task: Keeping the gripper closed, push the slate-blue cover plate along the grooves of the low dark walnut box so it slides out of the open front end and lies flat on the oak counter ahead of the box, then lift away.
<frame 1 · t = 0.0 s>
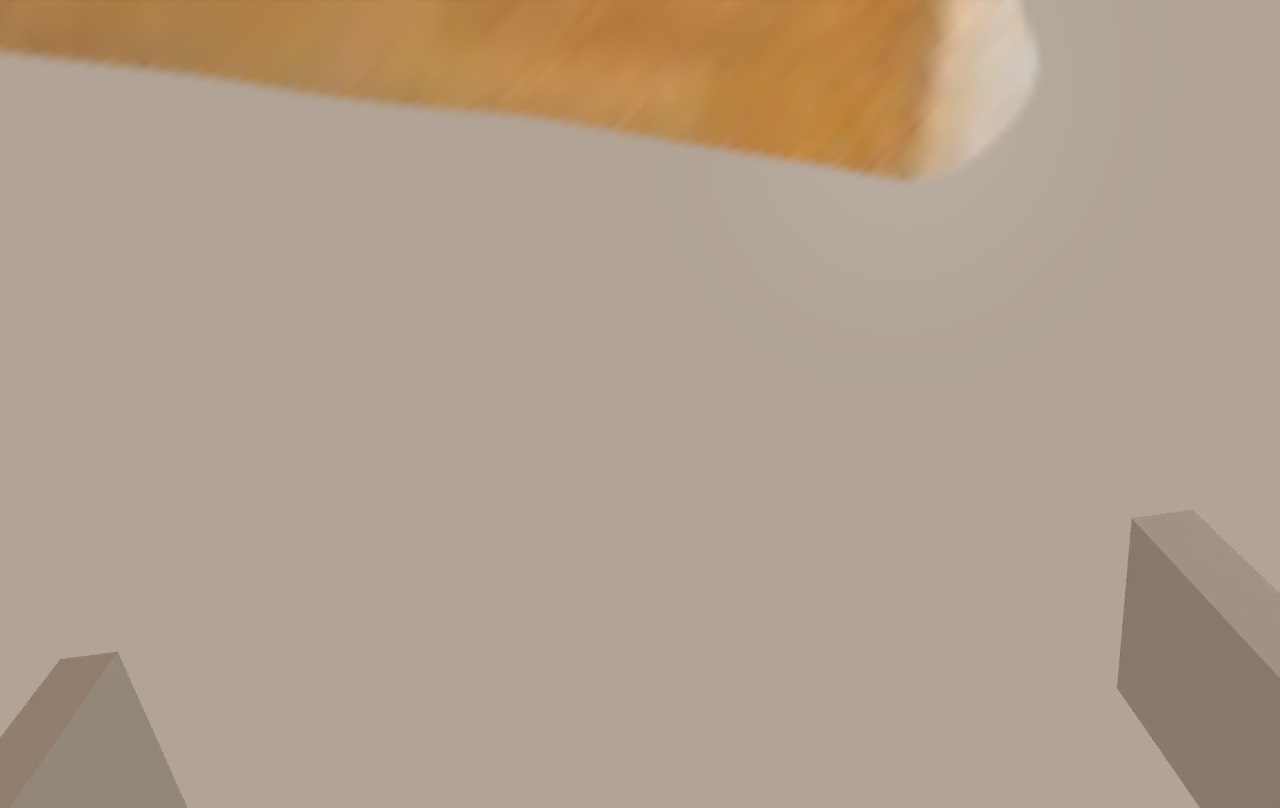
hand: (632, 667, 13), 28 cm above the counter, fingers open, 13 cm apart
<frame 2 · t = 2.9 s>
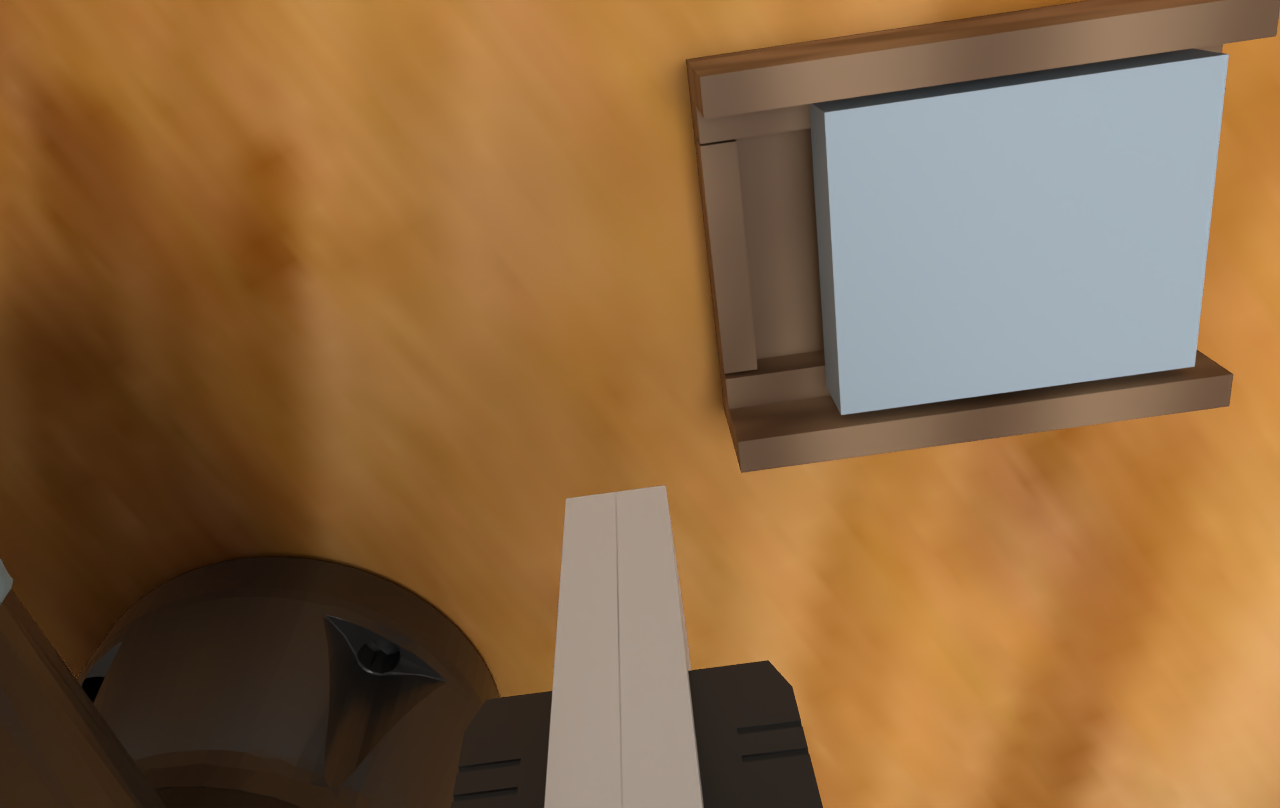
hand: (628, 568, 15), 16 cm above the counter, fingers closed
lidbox: (936, 216, 30), on the counter
cover plate: (993, 228, 28), point 2 cm above the counter, touching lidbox
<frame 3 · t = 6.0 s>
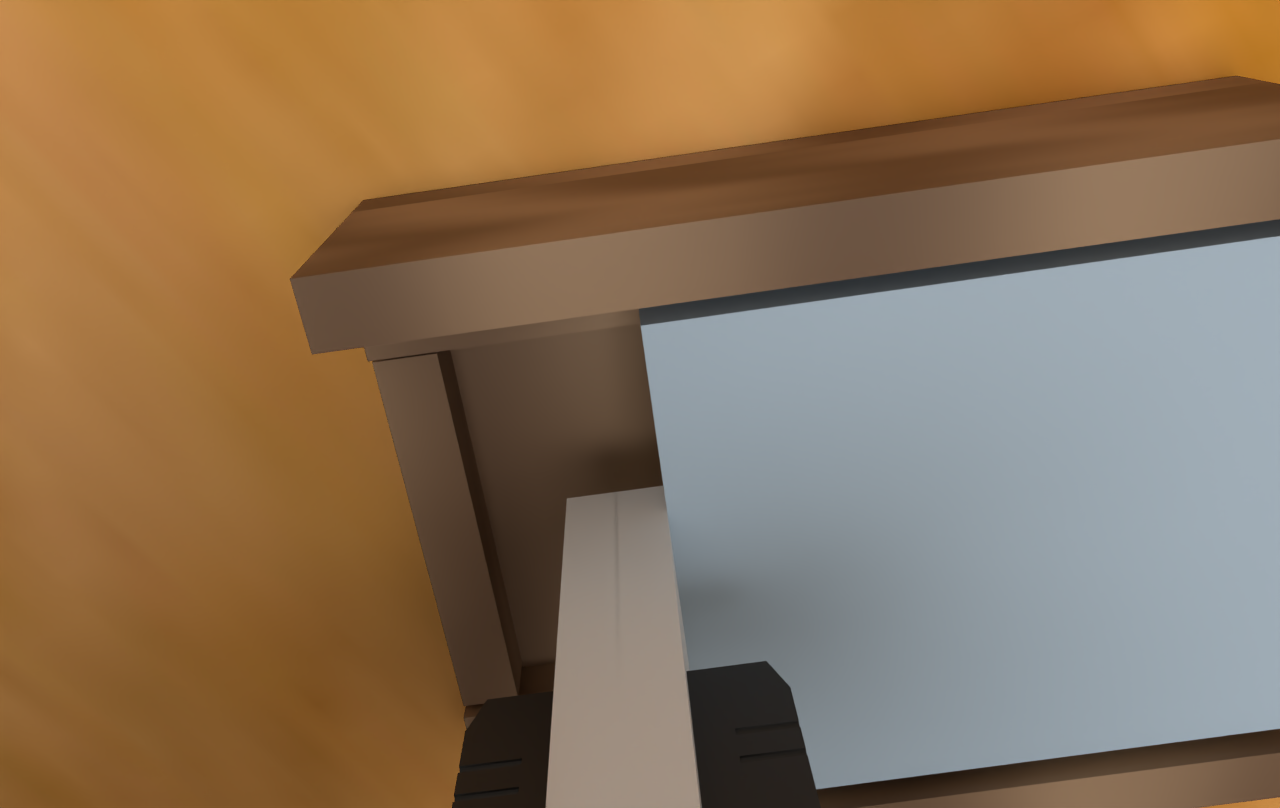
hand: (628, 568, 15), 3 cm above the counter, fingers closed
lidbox: (816, 443, 18), on the counter
cover plate: (972, 480, 16), point 2 cm above the counter, touching gripper, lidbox
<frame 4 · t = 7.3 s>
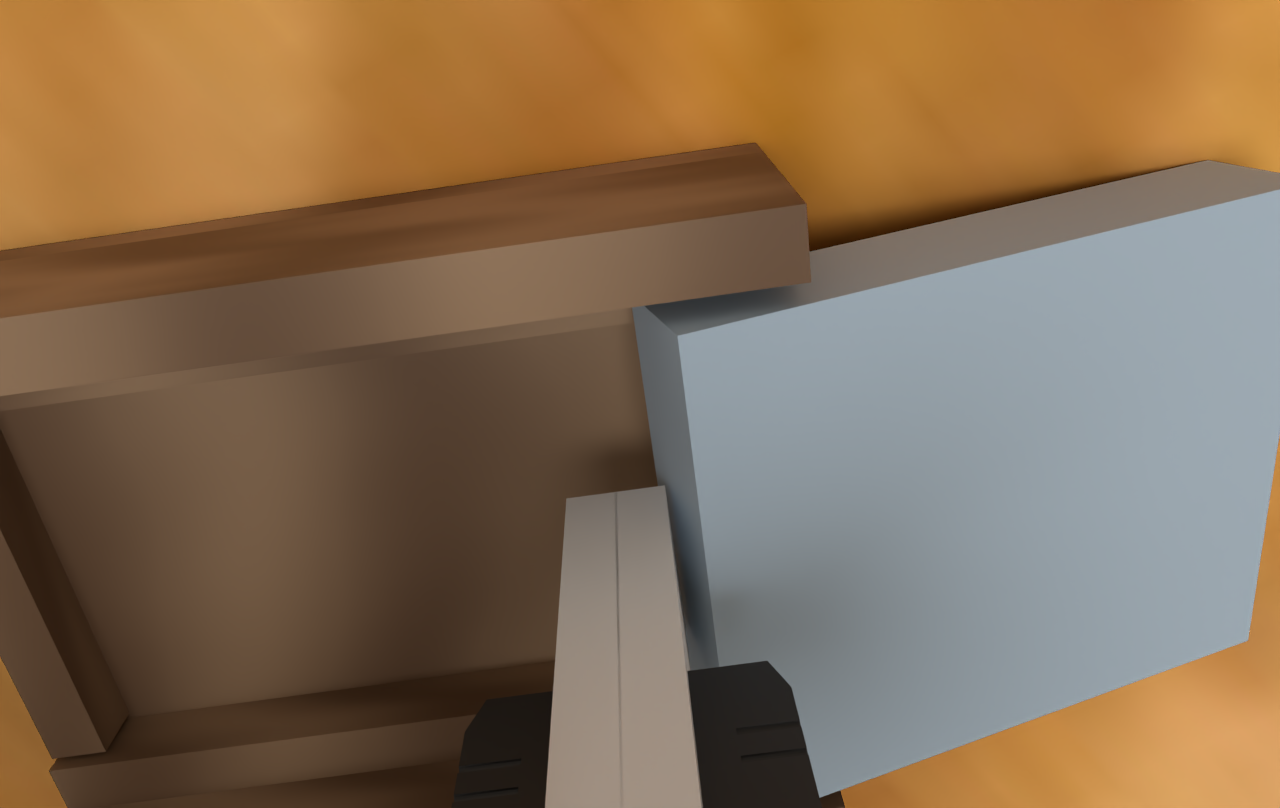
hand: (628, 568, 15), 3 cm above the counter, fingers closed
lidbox: (403, 498, 18), on the counter
cover plate: (941, 462, 17), point 1 cm above the counter, tilted 15°, touching gripper
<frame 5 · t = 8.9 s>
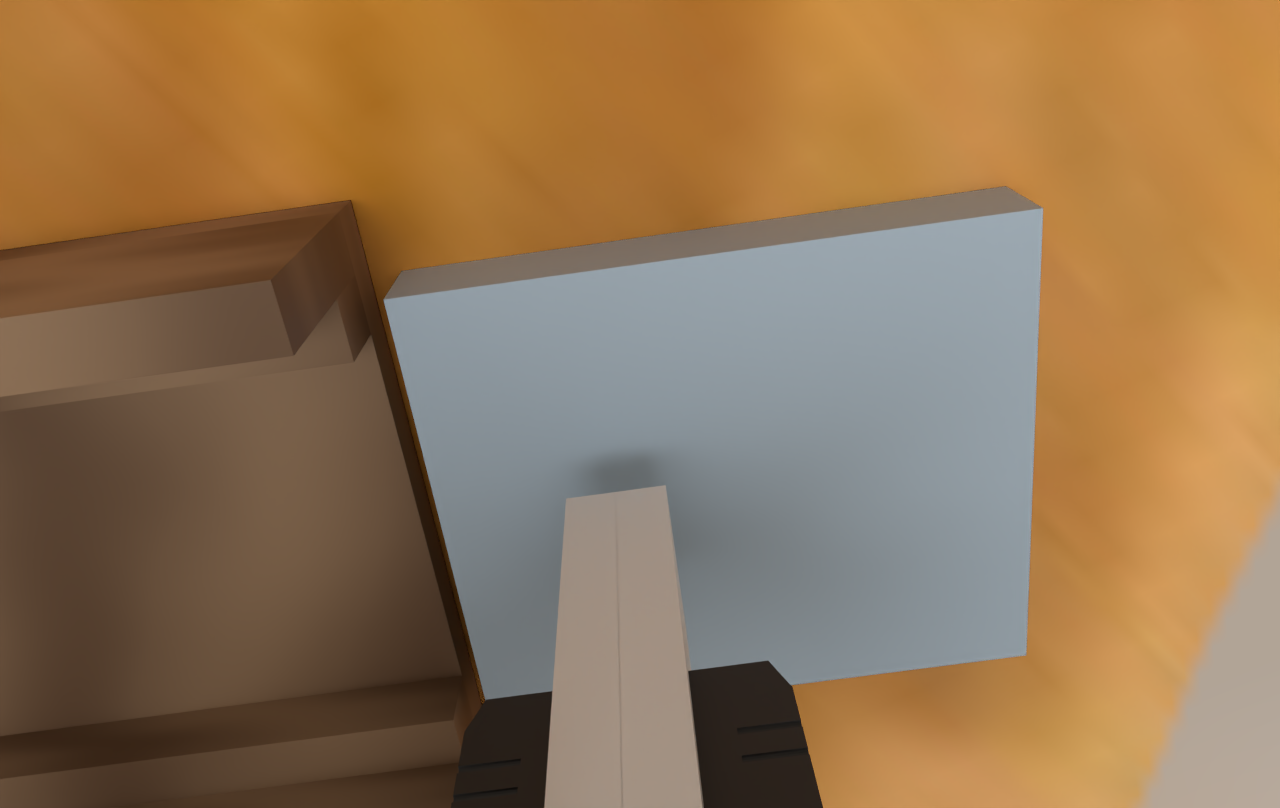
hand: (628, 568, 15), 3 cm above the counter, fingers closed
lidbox: (53, 547, 18), on the counter
cover plate: (723, 441, 18), on the counter
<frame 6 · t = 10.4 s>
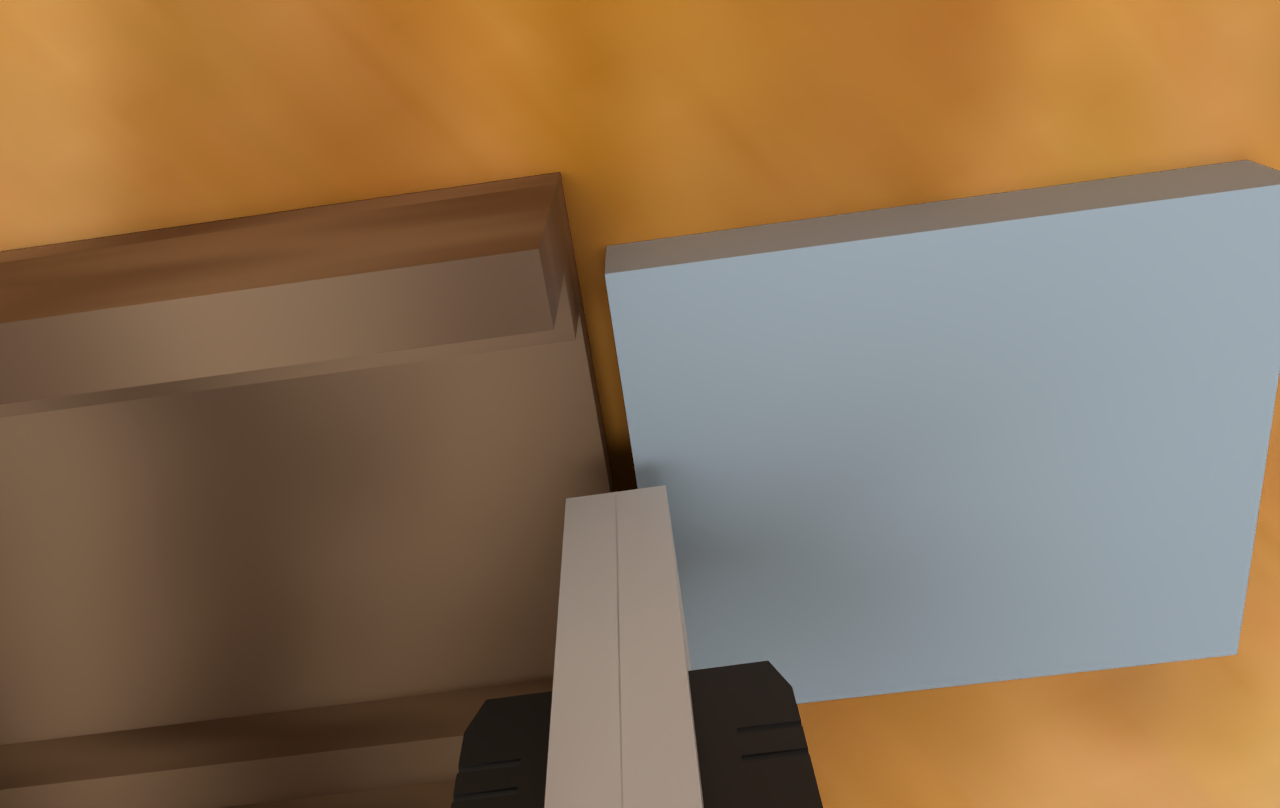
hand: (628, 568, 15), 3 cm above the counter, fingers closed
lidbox: (227, 532, 18), on the counter
cover plate: (917, 427, 18), on the counter
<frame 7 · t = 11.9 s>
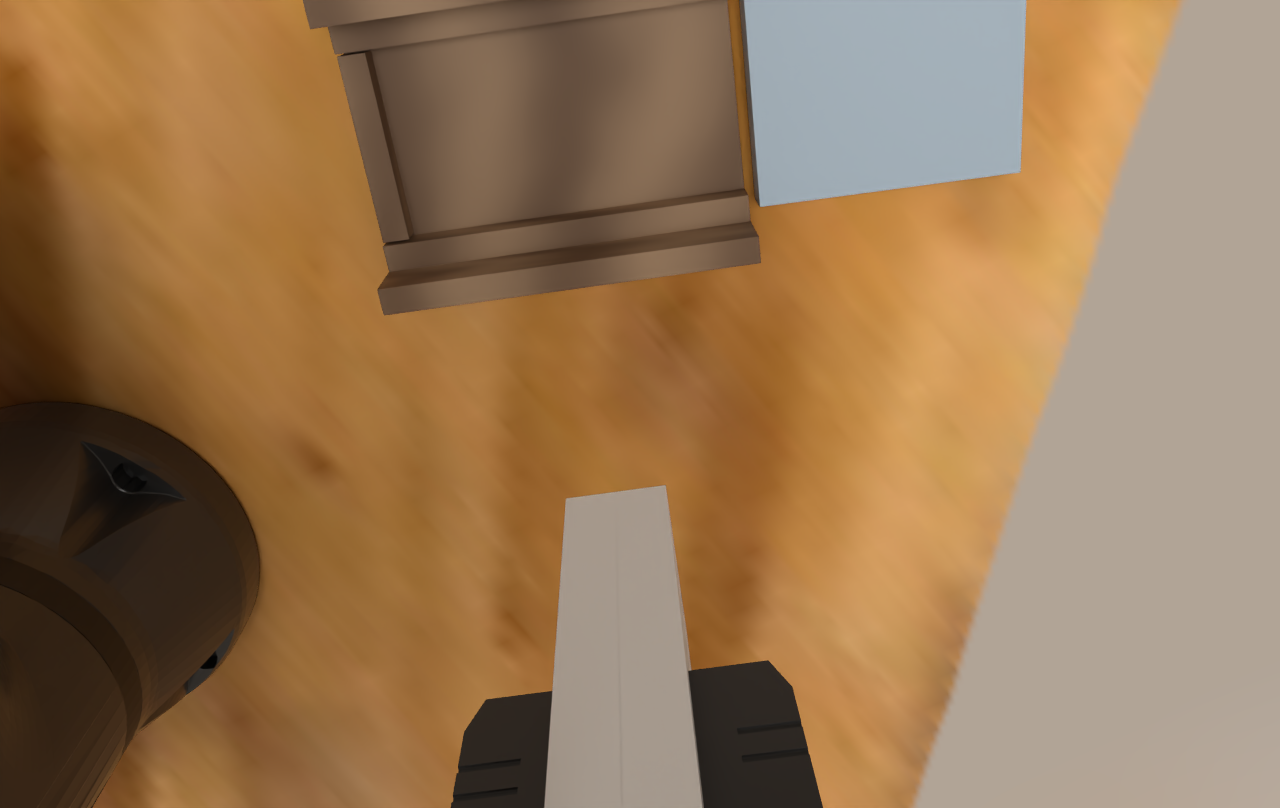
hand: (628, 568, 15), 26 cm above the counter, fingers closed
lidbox: (551, 118, 38), on the counter
cover plate: (874, 69, 38), on the counter
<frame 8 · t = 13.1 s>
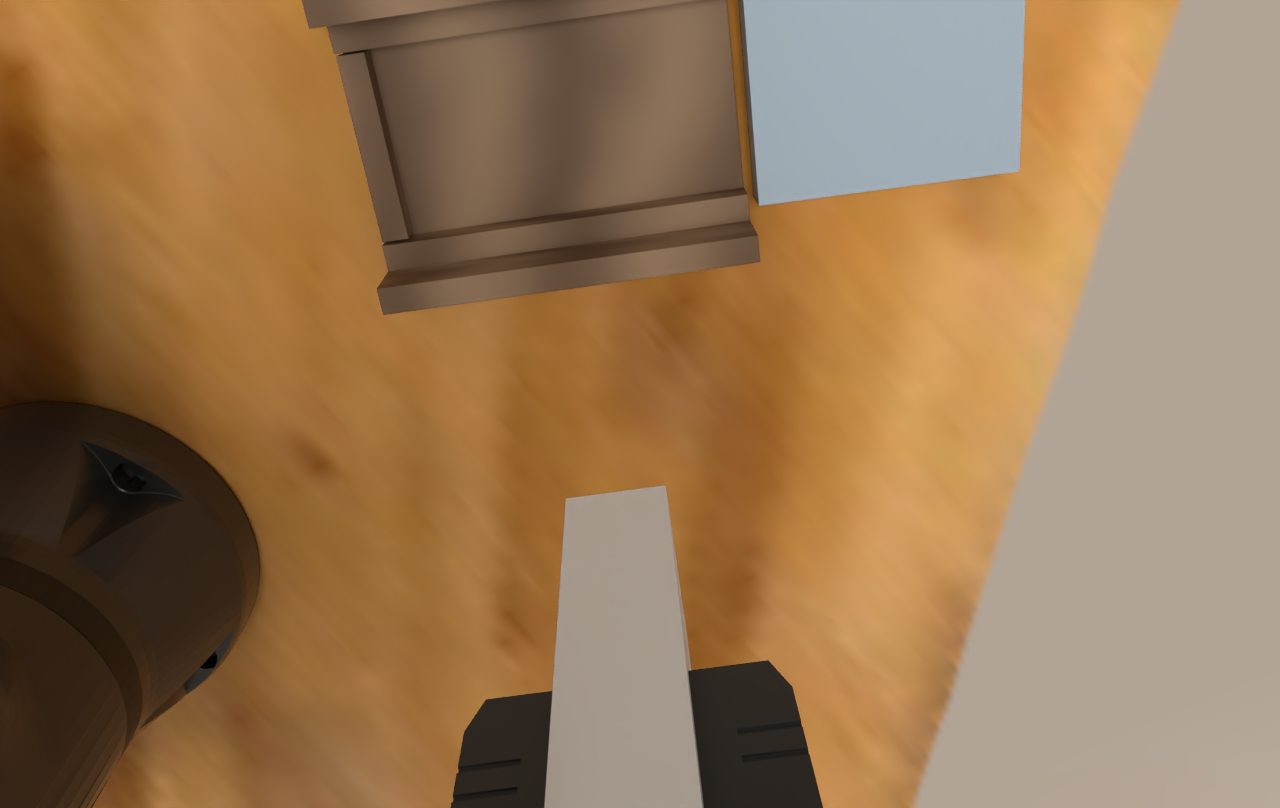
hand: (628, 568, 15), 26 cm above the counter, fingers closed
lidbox: (550, 118, 38), on the counter
cover plate: (873, 68, 38), on the counter
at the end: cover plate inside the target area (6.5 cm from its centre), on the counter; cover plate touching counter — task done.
